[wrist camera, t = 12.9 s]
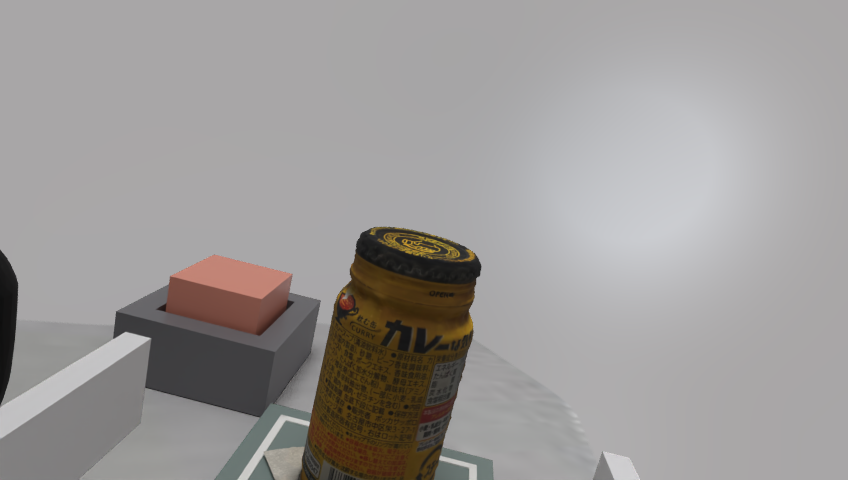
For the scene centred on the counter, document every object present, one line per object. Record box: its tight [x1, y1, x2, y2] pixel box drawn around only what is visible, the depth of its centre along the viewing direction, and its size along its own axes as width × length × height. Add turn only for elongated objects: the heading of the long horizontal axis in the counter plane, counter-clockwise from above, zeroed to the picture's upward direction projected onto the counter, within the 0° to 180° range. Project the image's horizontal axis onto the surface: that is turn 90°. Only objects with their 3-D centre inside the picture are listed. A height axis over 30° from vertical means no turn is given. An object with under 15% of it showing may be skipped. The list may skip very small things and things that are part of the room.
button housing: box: [113, 285, 321, 417], centre depth 34 cm, size 9×9×4 cm
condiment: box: [264, 227, 481, 480], centre depth 23 cm, size 7×8×12 cm
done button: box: [166, 255, 292, 336], centre depth 34 cm, size 5×5×3 cm
